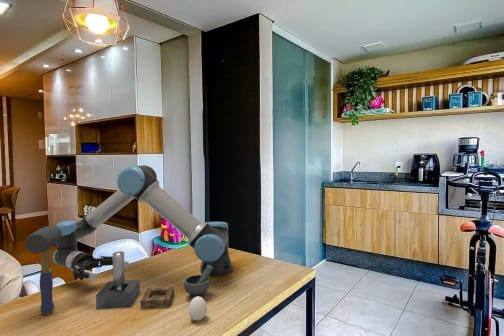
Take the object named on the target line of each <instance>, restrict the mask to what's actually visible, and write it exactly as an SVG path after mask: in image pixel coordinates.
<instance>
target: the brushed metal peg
mask: <svg viewBox="0 0 504 336" xmlns="http://www.w3.org/2000/svg"><path fill="white" fill-rule="evenodd" d="M112 257H113V265H112V281H113V290H125V280H126V278H125V275H126V274H125V269H126V268H124V260H125V251H116V252H113V253H112Z"/></svg>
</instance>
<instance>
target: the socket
mask: <svg viewBox="0 0 504 336" xmlns="http://www.w3.org/2000/svg"><path fill="white" fill-rule="evenodd" d="M140 293H141V280H140V279H125V290H113V280H109V281H108V282H107V283H106V284H105V285H104V286H103V287H102V288H101V289H100V290H99V291H98V292H97V294H96V295H95V309H96V310H98V309H99V310H100V309H103V310H104V309H116V308H119V309H120V308H121V309H122V308H131V307H132V306H133V304H134V303H135V301H136V299H137V298H138V296H139V294H140Z"/></svg>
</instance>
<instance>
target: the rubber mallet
mask: <svg viewBox="0 0 504 336" xmlns="http://www.w3.org/2000/svg"><path fill="white" fill-rule="evenodd" d="M61 235H62V233H61V231H60V229H59V228H58V227H56V226H55V225H47V226H45V227H42V228H39V229H37V230H36V231H34V232H32V233H31V234H30V235H29V236H28V237H27V238H26V239H25V242H24V248H25V249H26V250H27V251H28V252H29V253H31V254H40V267H41V269H40V271H41V272H40V275H39V291H40V299H41V300H40V302H41V303H40V308H39V311H40V312H41V314H42V315H50V314H51V313H53V310H54V309H55V305H54V302H53V288H54V287H53V286H54V285H53V284H54V283H53V282H54V281H53V276H52V275H53V274H52V271H51V256H50V255H51V254H50V249H51V248H52V247H54V246H55V245H57V242H58V241H59V240H60V239H61Z"/></svg>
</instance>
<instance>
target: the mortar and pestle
mask: <svg viewBox="0 0 504 336" xmlns="http://www.w3.org/2000/svg"><path fill="white" fill-rule="evenodd" d="M211 270H213V267H212V266H210V265H207V266H206V269H205V271H204V273H203V274H202V273H201V274H196V275H195V274H194V275H190V276H187V277H185V278H184V281H183V287H184V290H185V292H186V293H187V294H188V299H189V300H190V302H191V301H192V299H193V298H195V297H197V296H199V297H202V298H203V299H204V300H205V299H206V293H207V292H208V289H209V287H210V283H211V278H210V276H209V274H210V272H211Z"/></svg>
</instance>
